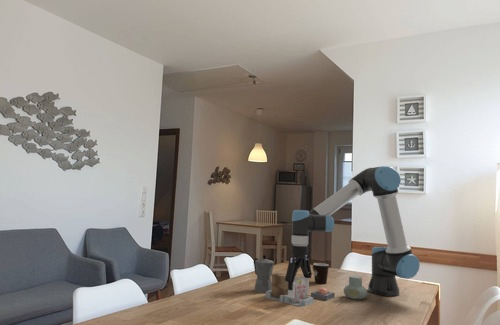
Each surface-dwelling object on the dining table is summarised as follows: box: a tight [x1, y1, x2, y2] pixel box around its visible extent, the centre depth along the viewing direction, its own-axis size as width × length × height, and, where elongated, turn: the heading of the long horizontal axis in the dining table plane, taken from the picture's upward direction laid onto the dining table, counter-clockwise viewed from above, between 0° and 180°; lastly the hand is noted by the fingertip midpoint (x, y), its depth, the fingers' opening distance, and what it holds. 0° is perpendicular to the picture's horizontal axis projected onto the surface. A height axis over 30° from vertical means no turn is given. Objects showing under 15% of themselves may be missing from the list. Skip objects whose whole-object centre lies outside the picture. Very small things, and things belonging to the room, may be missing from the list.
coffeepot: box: [253, 254, 275, 294], centre depth 179 cm, size 15×9×18 cm, turn 33°
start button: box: [318, 287, 328, 294], centre depth 170 cm, size 4×4×4 cm
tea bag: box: [290, 276, 308, 303], centre depth 162 cm, size 4×7×10 cm, turn 126°
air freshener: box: [343, 275, 368, 301], centre depth 175 cm, size 11×8×10 cm
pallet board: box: [263, 290, 317, 308], centre depth 164 cm, size 21×12×3 cm, turn 52°
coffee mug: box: [312, 262, 330, 285], centre depth 206 cm, size 12×9×10 cm
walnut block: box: [271, 272, 288, 298], centre depth 167 cm, size 7×4×10 cm, turn 52°
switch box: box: [310, 289, 336, 301], centre depth 170 cm, size 8×8×3 cm
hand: (298, 295), depth 161 cm, fingers open, 11 cm apart
